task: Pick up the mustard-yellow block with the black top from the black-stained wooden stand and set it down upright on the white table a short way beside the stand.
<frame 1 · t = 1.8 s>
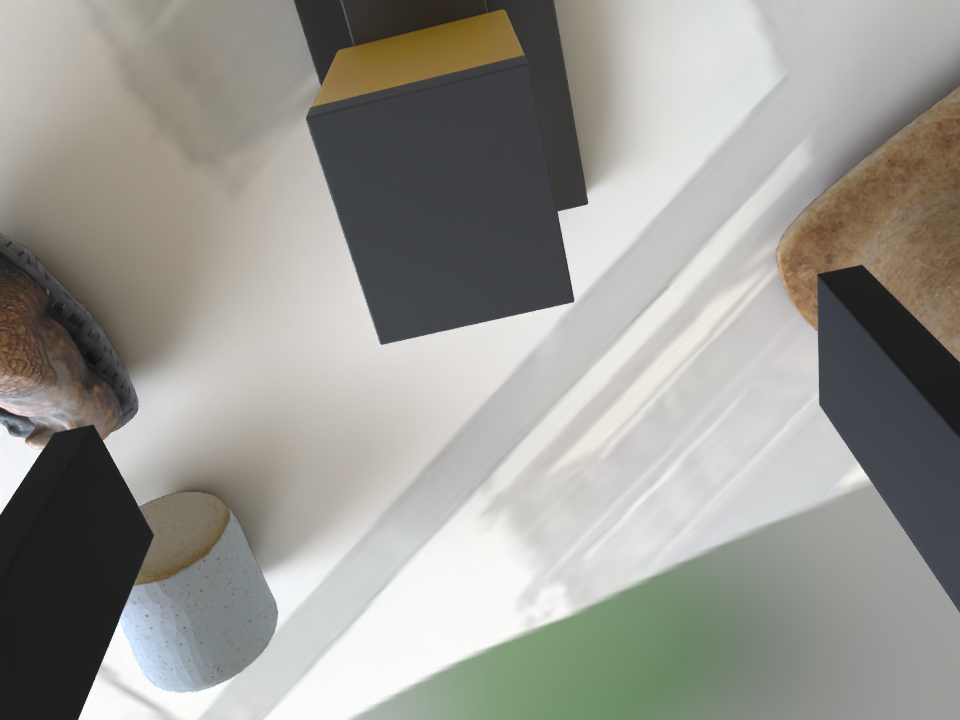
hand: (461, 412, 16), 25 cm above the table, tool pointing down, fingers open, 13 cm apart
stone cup: (933, 213, 42), on the table
brown animal-shaped figure: (43, 319, 42), on the table
block: (445, 128, 29), point 9 cm above the table, touching stand
stand: (442, 69, 37), on the table
ceramic mug: (183, 543, 50), on the table
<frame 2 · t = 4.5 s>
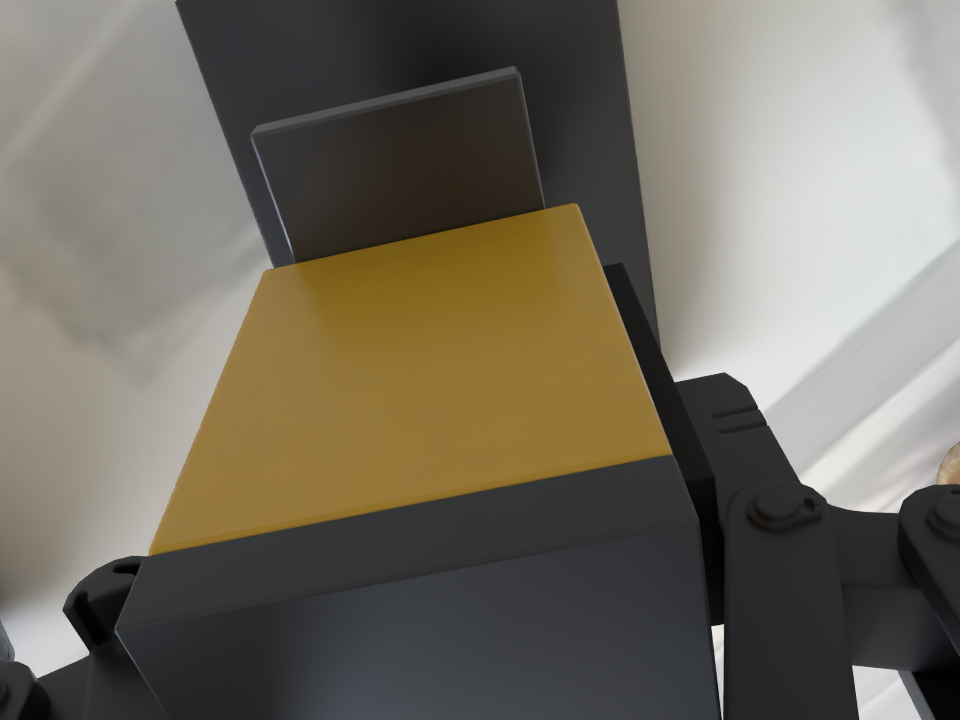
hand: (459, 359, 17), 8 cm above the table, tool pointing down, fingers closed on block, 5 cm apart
block: (460, 391, 16), point 9 cm above the table, touching gripper, stand
stand: (454, 216, 24), on the table
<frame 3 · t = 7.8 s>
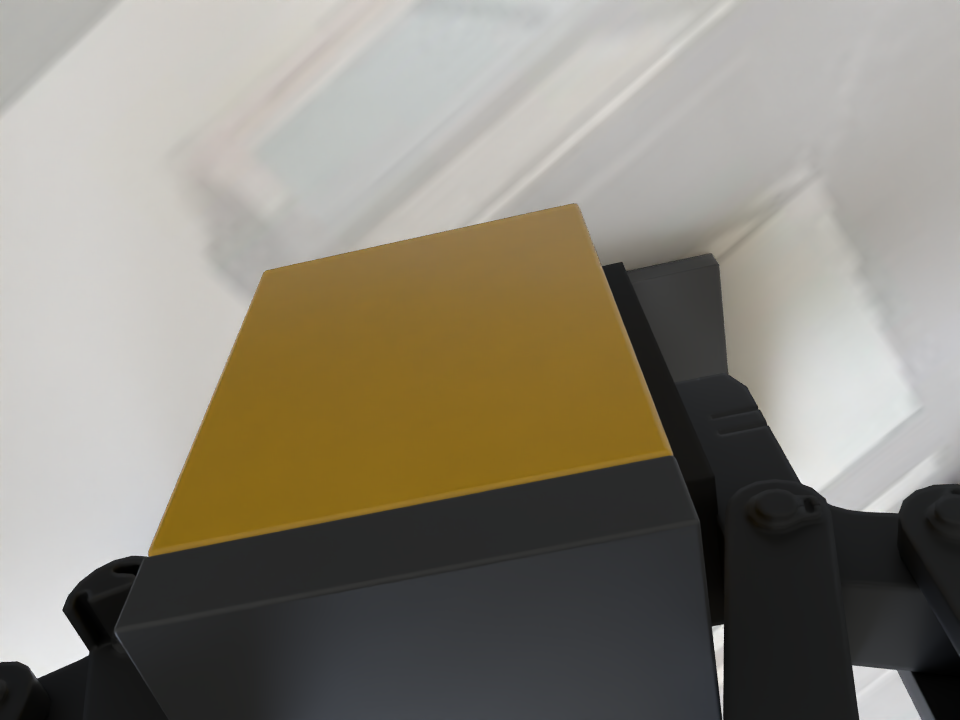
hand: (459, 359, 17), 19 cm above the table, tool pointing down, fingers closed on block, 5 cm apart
block: (460, 392, 16), point 21 cm above the table, touching gripper
stand: (619, 406, 42), on the table
when the fingers open (0 cm above the table, at t = 11.2 s): block stays where it is, on the table.
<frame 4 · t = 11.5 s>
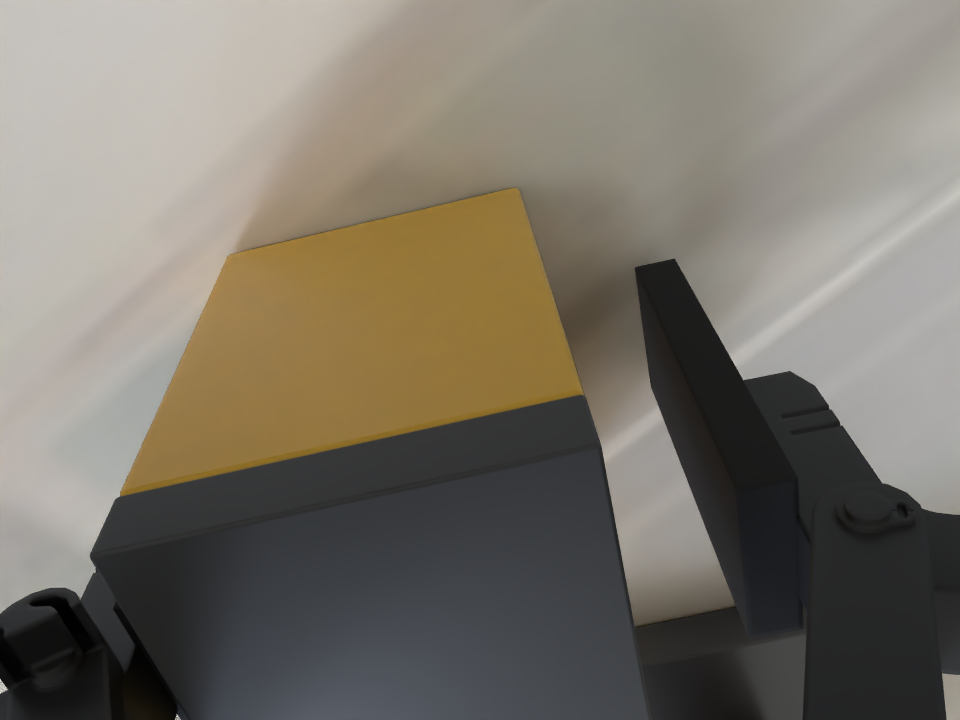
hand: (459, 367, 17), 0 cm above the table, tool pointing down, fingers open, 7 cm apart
block: (416, 367, 18), on the table
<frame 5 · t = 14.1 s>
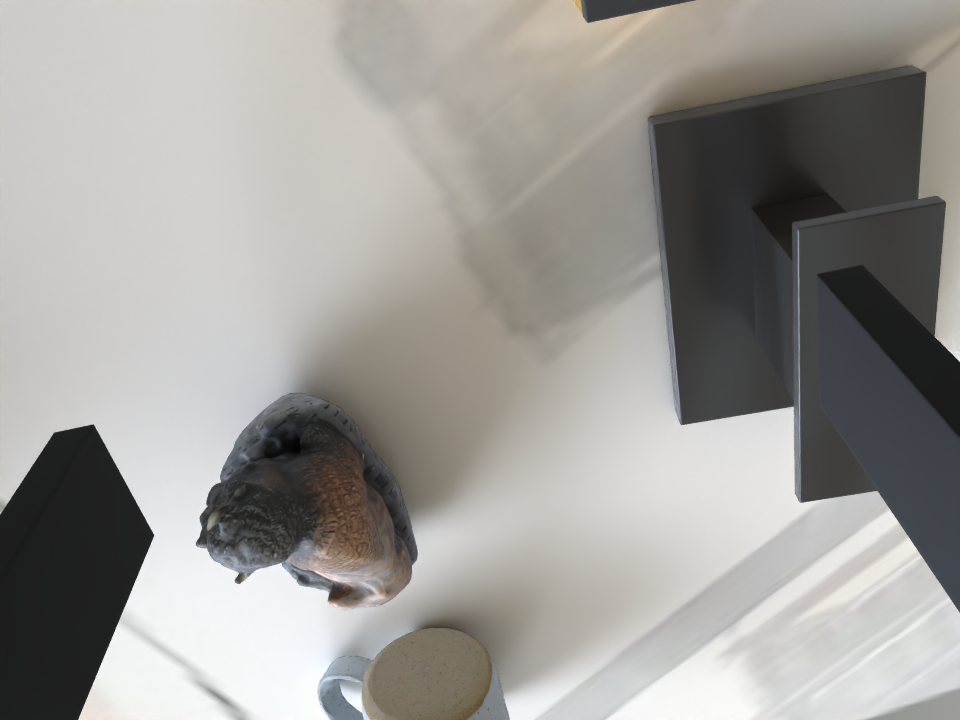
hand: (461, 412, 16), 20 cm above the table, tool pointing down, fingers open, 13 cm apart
brown animal-shaped figure: (330, 466, 42), on the table
stand: (781, 256, 37), on the table
ceramic mug: (418, 670, 50), on the table
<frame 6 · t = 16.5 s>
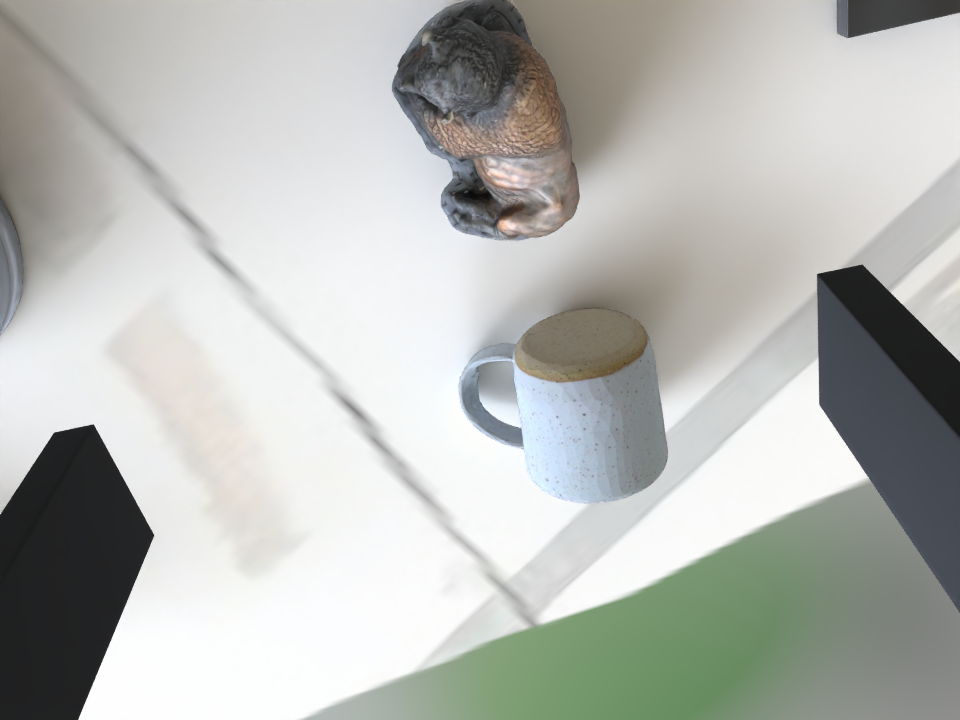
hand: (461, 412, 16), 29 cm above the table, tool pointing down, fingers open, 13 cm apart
brown animal-shaped figure: (484, 112, 42), on the table
ceramic mug: (555, 371, 49), on the table
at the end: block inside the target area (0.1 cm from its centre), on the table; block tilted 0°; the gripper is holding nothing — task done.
